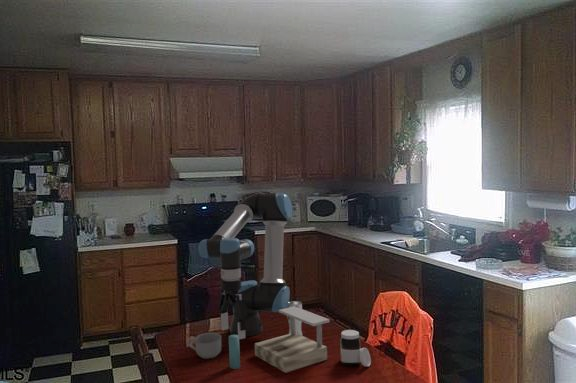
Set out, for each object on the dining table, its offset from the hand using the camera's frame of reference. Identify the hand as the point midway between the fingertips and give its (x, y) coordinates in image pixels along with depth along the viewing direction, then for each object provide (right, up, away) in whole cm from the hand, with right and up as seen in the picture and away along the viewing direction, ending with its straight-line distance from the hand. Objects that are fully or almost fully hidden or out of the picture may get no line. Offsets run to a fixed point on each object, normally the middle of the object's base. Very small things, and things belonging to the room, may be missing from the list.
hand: (233, 333), depth 191 cm
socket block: (+22, -12, +9) cm, 26 cm away
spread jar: (+47, -12, 0) cm, 49 cm away
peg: (+1, -13, +1) cm, 13 cm away
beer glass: (+24, -11, +33) cm, 43 cm away
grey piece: (+28, -6, +12) cm, 31 cm away
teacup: (-13, -13, +14) cm, 23 cm away
